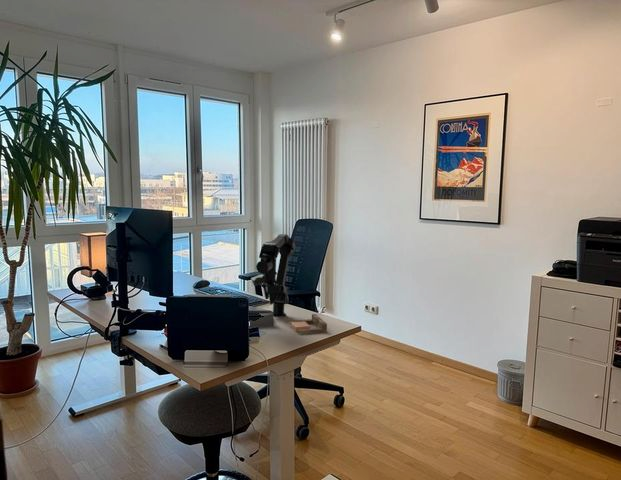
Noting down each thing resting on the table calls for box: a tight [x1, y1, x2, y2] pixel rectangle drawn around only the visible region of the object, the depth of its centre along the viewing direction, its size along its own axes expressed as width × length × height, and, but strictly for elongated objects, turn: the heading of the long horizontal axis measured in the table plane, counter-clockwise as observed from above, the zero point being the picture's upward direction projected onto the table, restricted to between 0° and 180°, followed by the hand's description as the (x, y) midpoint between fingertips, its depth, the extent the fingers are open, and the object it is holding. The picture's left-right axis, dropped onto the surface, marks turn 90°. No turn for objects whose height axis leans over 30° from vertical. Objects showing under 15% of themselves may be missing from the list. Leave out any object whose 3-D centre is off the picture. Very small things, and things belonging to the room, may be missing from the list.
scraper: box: [250, 312, 277, 327], centre depth 202 cm, size 13×7×5 cm, turn 109°
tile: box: [290, 321, 311, 333], centre depth 199 cm, size 7×7×2 cm
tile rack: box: [289, 313, 328, 335], centre depth 201 cm, size 15×13×4 cm
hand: (268, 301), depth 204 cm, fingers open, 9 cm apart
